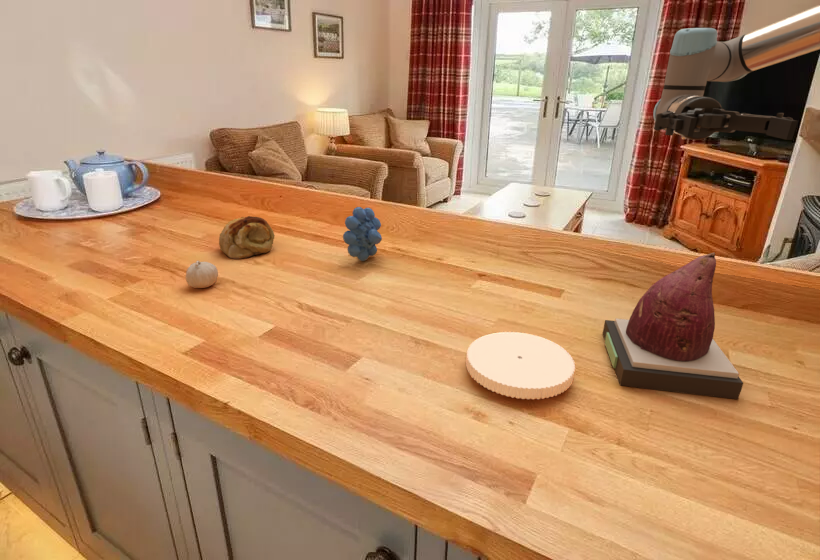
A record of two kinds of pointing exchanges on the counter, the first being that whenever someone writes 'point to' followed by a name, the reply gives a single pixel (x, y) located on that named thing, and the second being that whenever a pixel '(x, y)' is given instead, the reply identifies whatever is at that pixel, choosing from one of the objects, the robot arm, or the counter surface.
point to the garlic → (201, 274)
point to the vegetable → (677, 313)
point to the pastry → (246, 237)
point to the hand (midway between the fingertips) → (741, 128)
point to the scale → (669, 367)
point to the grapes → (362, 233)
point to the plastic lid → (520, 365)
